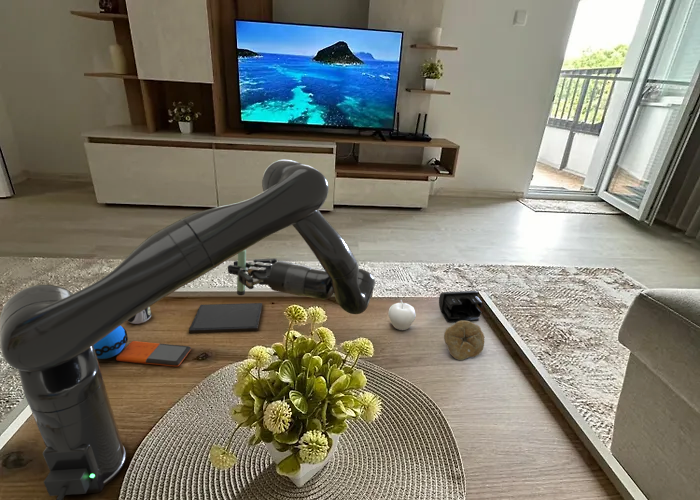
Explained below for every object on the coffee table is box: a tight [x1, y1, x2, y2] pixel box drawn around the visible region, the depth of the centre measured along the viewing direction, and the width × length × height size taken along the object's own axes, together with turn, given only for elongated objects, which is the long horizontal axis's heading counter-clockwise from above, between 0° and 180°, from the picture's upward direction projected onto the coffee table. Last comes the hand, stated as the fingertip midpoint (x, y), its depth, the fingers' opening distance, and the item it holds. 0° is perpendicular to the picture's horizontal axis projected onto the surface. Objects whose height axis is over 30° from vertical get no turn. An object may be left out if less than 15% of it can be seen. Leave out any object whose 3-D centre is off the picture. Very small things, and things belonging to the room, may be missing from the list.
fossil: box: [443, 321, 486, 361], centre depth 97 cm, size 9×4×10 cm
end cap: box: [438, 290, 483, 324], centre depth 110 cm, size 10×7×7 cm
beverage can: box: [127, 306, 152, 325], centre depth 103 cm, size 6×6×12 cm
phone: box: [115, 340, 192, 368], centre depth 92 cm, size 6×1×15 cm
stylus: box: [236, 249, 247, 296], centre depth 101 cm, size 2×2×13 cm
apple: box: [388, 299, 417, 331], centre depth 104 cm, size 7×7×8 cm
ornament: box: [93, 325, 129, 360], centre depth 90 cm, size 9×9×10 cm
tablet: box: [188, 302, 263, 334], centre depth 106 cm, size 12×17×1 cm
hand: (231, 266), depth 101 cm, fingers closed on stylus, 2 cm apart
